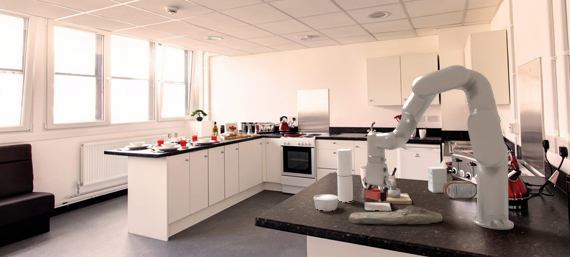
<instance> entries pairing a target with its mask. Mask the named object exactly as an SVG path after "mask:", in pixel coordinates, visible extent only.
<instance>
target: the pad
mask: <svg viewBox="0 0 570 257" xmlns="http://www.w3.org/2000/svg"><path fill="white" fill-rule="evenodd" d="M390 204H391V203H380V202H364V210H365V211H375V210H379V211H378V212H392V207H391V205H390Z"/></svg>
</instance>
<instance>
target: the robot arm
mask: <svg viewBox="0 0 570 257" xmlns="http://www.w3.org/2000/svg"><path fill="white" fill-rule="evenodd" d="M452 90H457V91H458V90H460V91H463V92H464V94H465V96H466V102H467V105H468V110H469V116H468V117H467V122H466V124H467V131H468V135H469V139H470V140H469V141H470V146H471V149H472V154H473V157H474V159H475V161H476V186H477V194H476V216H473V217H472V219H471V221H472V223H473V224H475V225H476V226H479V227H483V228H484V229H485V228H487V229H491V230H498V231H500V230H501V231H502V230H503V231H504V230H511V229H513V228H514V227H515V226H514V222H513V221H511V220H509V149H508V146H507V144H506V143H505V140H504V135H503V131H502V130H503V129H502V126H501V117H500V114H499V112H498V111H499V110H498V108H497V103H496V100H495V95H494V92H493V89H492V85H491V83H490V81H489V80H488V78H487V77H486V76H485V75H484V74H482V73H481V72H480V71H479V72H478V71H477V70H473V69H469V68H467V67H466V66H463V65H460V64H454V65H448V66H447V67H443V68H441V69H439V70H438V69H437V70H435V71H432V72H430V73H426V74H423V75H420V76H418V77H417V78H415V79H414V80H413V82H412V85H411V93H410V95H408V96H409V97H408V98H407V99H406V101H405V103H404V104H403V106H402V107H401V118H400V120H399V123H398V124H397V125H396V127H395V128H394V130H393V131H391V132H390V131H389V132H379V131H377V132H376V131H375V132H374V131H372V132H368V133H367V136H366V143H367V144H366V145H367V146H366V149H367V152H366V153H367V156H366V157H367V162H366V166H365V176H364V177H363V178H362V182H363V184H364V186H365V189H366V190H370V189H374V188H373V186H375V187H379V189H381V200H380V201H381V202H383V201H386V200H387V195H386V192H388V190H389V189H390V188H391V186H392V184H391V181H390V178H389V168H388V164H387V163H386V161H387V158H386V152H385V150H387V151H393V150H397V149H401V148H402V147H404V146H405V145H406V144H407V142H408V141H409V140H410V138H411V137H412V135H413V134H414V132H415V131H416V129H417V126H418V125H419V123H420V121H421V119H422V117H423V116H424V114H425V112H426V111H427V110H428V109H429V107H430V105H431V104H432V103H433V101H434V99H435V98H436V97H437V95H438V94H443V93H445V92H450V91H452ZM380 201H379V202H380Z"/></svg>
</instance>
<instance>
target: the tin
mask: <svg viewBox="0 0 570 257" xmlns="http://www.w3.org/2000/svg"><path fill="white" fill-rule="evenodd" d="M443 192H444V193H443V194H444V195H445V196H446V197H447V198H449V199H455V200H456V199H457V200H459V199H463V200H466V199H468V200H469V199H474V198H475V197H477V184H475V183H473V182H472V181H471V180H470V181H469V180H449V181H447V183H446V184H445V185H444V187H443Z"/></svg>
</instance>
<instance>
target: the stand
mask: <svg viewBox="0 0 570 257" xmlns="http://www.w3.org/2000/svg"><path fill="white" fill-rule="evenodd" d="M390 183H391V184H392V186H391V187H390V188H391V189H389V190H388V198H387V200H386V201H383V202H381V201H380V200H378V201H379V203H389V204H391V203H392V204H393V205H394V204H395V205H397V204H398V205H399V204H400V205H412V204H413V203H412V199H411V198H410V196H409V194H408V193H402V192H401V188H397V181H396V180H391V181H390Z"/></svg>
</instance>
